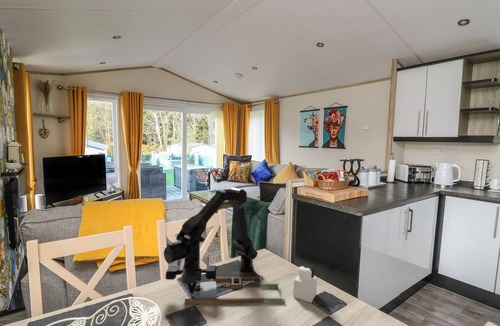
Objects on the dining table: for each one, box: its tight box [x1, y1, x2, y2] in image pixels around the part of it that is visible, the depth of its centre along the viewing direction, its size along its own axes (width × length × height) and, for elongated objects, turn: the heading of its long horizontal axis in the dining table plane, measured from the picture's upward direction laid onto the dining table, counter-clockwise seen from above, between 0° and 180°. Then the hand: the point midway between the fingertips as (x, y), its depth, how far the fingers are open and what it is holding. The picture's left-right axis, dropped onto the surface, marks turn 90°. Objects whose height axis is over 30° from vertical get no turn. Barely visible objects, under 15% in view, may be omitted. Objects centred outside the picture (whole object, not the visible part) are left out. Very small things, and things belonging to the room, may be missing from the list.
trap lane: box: [184, 276, 285, 305], centre depth 104 cm, size 16×37×2 cm, turn 94°
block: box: [199, 281, 218, 299], centre depth 100 cm, size 6×6×4 cm
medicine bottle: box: [293, 263, 318, 304], centre depth 102 cm, size 7×7×12 cm
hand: (192, 293), depth 100 cm, fingers closed
